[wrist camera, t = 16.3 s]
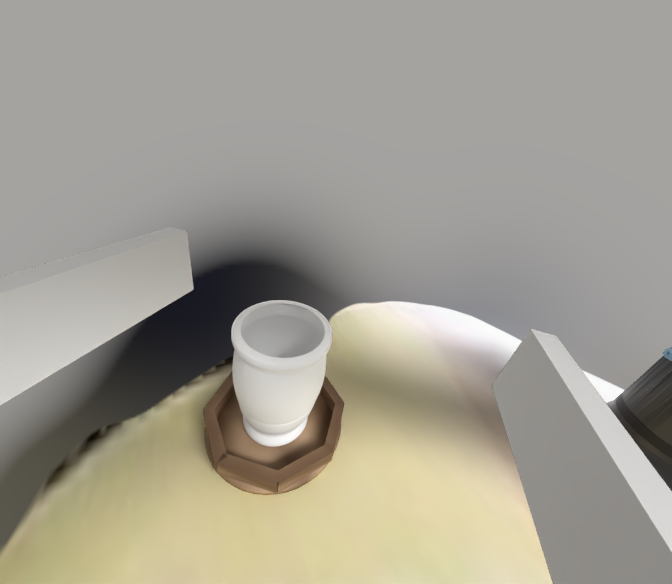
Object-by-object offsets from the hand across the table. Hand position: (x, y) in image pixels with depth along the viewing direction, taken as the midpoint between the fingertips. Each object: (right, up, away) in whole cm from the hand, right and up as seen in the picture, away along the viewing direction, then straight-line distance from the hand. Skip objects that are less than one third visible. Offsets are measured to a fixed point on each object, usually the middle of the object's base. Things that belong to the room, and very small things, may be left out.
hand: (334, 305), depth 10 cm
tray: (-8, -17, +25) cm, 31 cm away
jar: (-8, -16, +25) cm, 31 cm away
